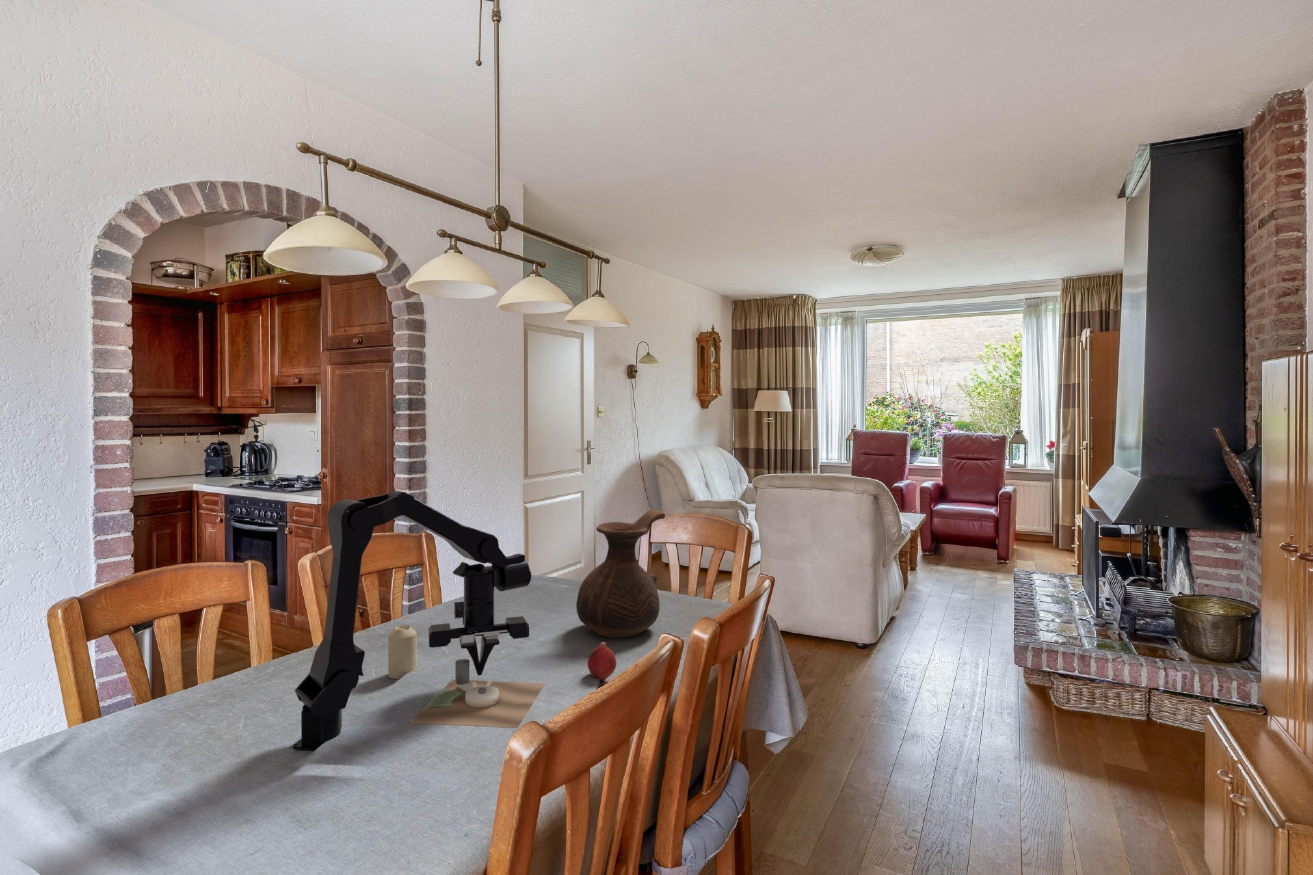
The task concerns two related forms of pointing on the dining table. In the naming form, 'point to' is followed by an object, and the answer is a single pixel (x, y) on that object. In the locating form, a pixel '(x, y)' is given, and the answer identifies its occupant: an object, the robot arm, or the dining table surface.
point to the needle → (474, 688)
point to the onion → (602, 662)
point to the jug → (620, 584)
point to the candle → (401, 651)
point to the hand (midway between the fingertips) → (479, 674)
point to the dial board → (504, 713)
